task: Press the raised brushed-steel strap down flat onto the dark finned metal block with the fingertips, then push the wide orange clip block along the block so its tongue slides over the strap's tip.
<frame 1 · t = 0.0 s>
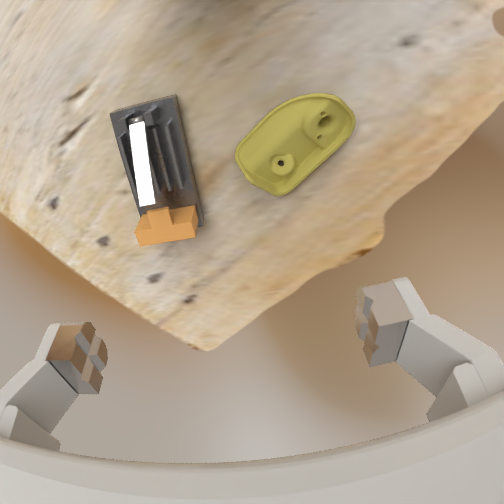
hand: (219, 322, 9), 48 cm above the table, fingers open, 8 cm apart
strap: (141, 160, 45), point 9 cm above the table, hinge at 25.0°
heatsink: (160, 165, 55), on the table
plastic component: (294, 137, 54), on the table
clip: (165, 218, 54), point 6 cm above the table, slide at 0.0 cm
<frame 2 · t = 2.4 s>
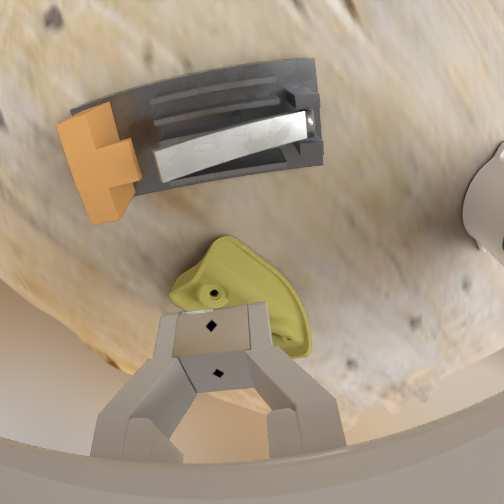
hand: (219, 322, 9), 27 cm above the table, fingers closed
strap: (242, 139, 24), point 9 cm above the table, hinge at 25.0°
heatsink: (197, 123, 31), on the table
plastic component: (243, 293, 46), on the table
clip: (112, 157, 27), point 6 cm above the table, slide at 0.0 cm
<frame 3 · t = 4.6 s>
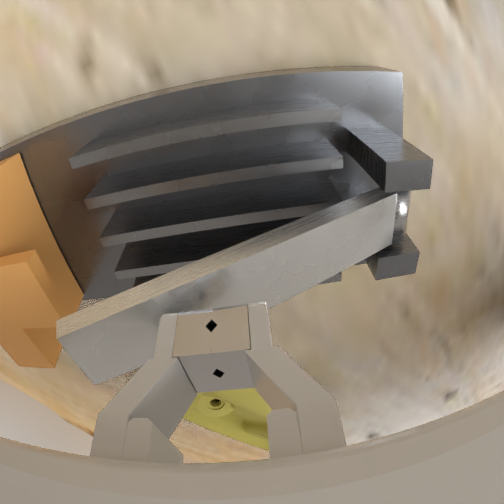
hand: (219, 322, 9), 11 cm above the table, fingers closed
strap: (267, 271, 11), point 9 cm above the table, hinge at 25.0°, touching gripper
heatsink: (177, 181, 18), on the table
plastic component: (253, 392, 33), on the table
clip: (28, 261, 14), point 6 cm above the table, slide at 0.0 cm
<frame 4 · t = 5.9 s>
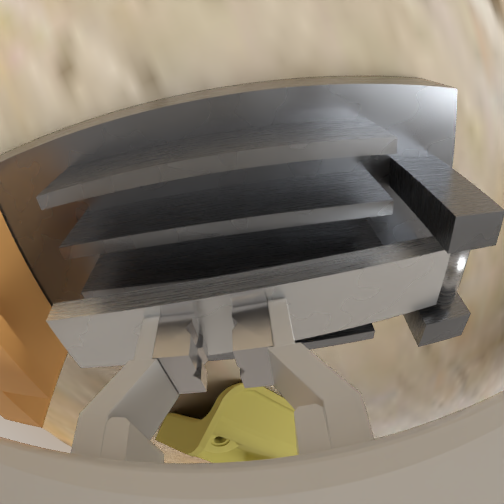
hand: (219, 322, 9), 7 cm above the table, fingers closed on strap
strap: (270, 308, 9), point 7 cm above the table, hinge at 4.5°, touching gripper
heatsink: (178, 213, 15), on the table
plastic component: (259, 425, 30), on the table
clip: (3, 312, 11), point 6 cm above the table, slide at 0.0 cm
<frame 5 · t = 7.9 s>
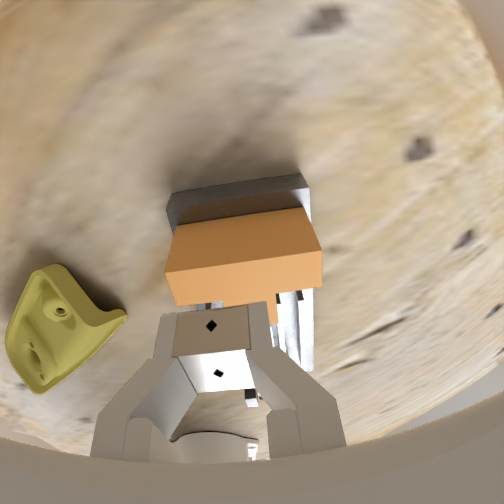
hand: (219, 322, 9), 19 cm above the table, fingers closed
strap: (264, 366, 30), point 7 cm above the table, hinge at 4.4°
heatsink: (254, 290, 33), on the table
plastic component: (59, 316, 35), on the table
clip: (246, 270, 24), point 6 cm above the table, slide at 0.0 cm
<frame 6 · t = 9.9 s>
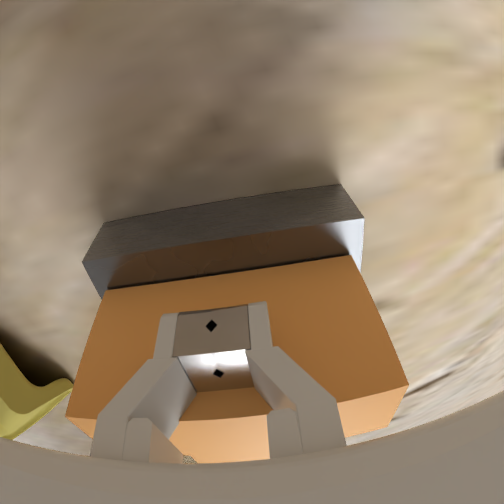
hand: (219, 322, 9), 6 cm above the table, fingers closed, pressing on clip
heatsink: (253, 363, 21), on the table
clip: (238, 382, 12), point 6 cm above the table, slide at 0.0 cm, touching gripper
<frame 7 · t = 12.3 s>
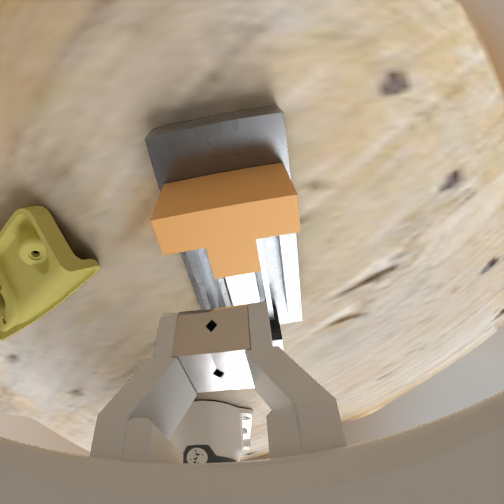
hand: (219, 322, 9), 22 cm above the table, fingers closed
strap: (247, 306, 30), point 7 cm above the table, hinge at 4.4°
heatsink: (237, 230, 33), on the table
plastic component: (31, 261, 34), on the table
clip: (229, 221, 25), point 6 cm above the table, slide at 2.7 cm
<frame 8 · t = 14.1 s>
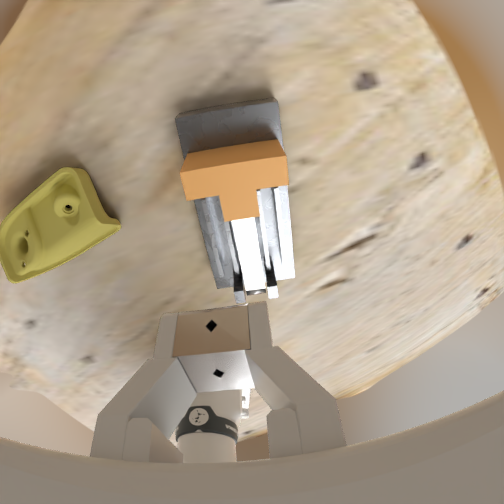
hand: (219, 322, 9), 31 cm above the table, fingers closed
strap: (249, 252, 37), point 7 cm above the table, hinge at 4.4°
heatsink: (242, 196, 41), on the table
plastic component: (57, 216, 41), on the table
clip: (236, 180, 33), point 6 cm above the table, slide at 2.7 cm
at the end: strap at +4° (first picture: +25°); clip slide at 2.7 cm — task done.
